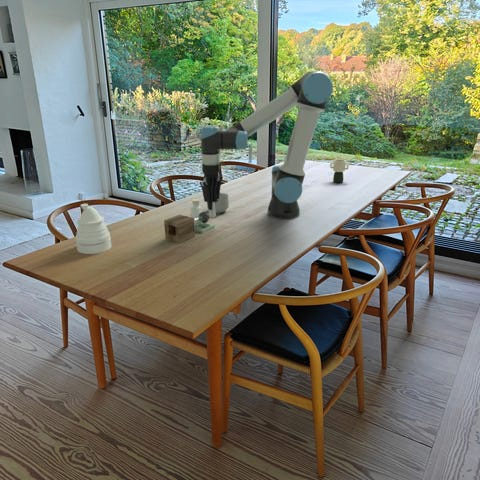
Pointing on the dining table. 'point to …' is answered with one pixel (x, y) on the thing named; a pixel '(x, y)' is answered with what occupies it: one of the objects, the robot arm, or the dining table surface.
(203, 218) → the shaft
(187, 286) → the dining table surface
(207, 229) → the keeper socket
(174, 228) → the bearing block
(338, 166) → the trophy cup
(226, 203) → the teacup
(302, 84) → the robot arm
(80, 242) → the honey pot
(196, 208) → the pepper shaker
